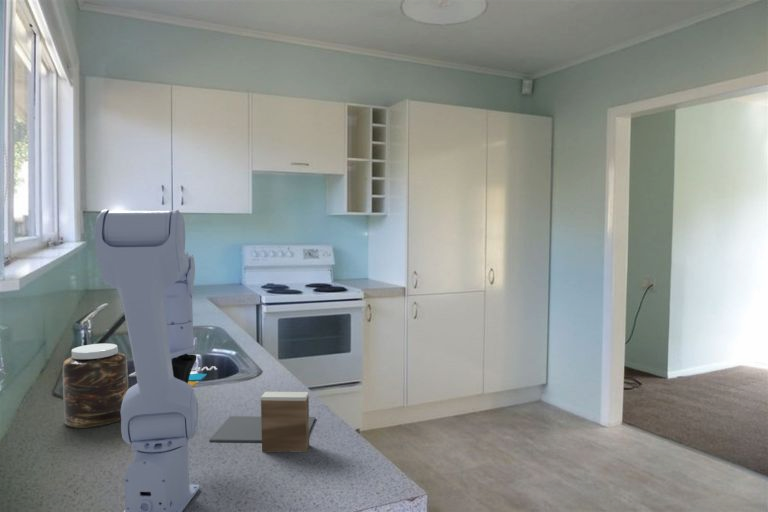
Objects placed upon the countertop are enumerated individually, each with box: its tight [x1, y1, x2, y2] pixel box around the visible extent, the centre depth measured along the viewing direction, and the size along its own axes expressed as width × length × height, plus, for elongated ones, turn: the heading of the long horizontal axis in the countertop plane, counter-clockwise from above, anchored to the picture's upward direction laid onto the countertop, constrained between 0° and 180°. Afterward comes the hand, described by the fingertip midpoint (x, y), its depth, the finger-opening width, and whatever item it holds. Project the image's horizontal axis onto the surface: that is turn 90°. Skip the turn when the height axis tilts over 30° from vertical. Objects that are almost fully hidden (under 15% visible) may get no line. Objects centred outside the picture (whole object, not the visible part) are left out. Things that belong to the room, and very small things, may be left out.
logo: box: [128, 365, 218, 387], centre depth 140 cm, size 23×1×20 cm
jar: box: [62, 342, 129, 429], centre depth 113 cm, size 12×12×15 cm
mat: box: [209, 415, 316, 443], centre depth 107 cm, size 12×18×1 cm, turn 88°
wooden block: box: [260, 391, 310, 453], centre depth 98 cm, size 3×8×10 cm, turn 88°
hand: (177, 398), depth 94 cm, fingers closed
